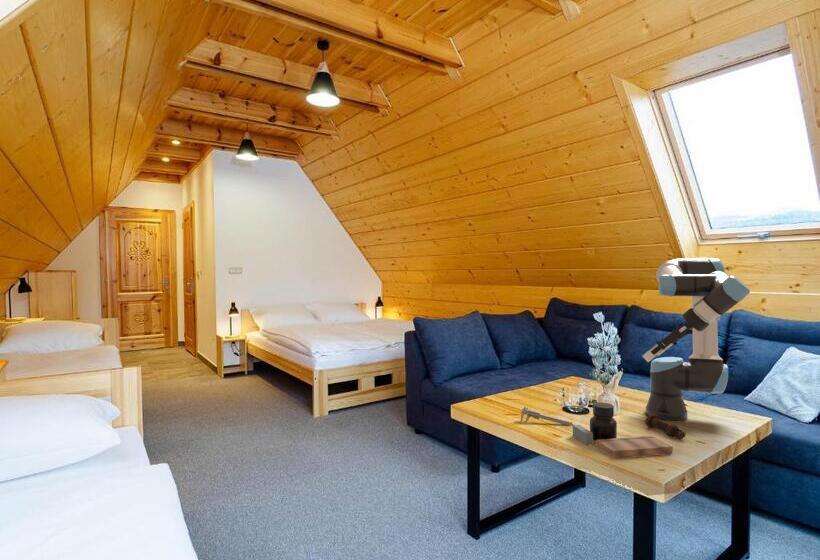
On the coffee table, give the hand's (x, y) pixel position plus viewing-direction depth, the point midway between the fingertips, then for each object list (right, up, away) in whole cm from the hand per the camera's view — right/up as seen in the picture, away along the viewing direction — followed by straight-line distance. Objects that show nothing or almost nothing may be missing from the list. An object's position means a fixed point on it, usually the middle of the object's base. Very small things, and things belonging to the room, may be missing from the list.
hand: (650, 356), depth 166 cm
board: (-9, -30, -8) cm, 32 cm away
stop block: (-23, -30, +2) cm, 38 cm away
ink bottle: (-15, -30, +3) cm, 34 cm away
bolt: (+10, -30, +8) cm, 32 cm away
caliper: (-30, -30, +20) cm, 47 cm away
